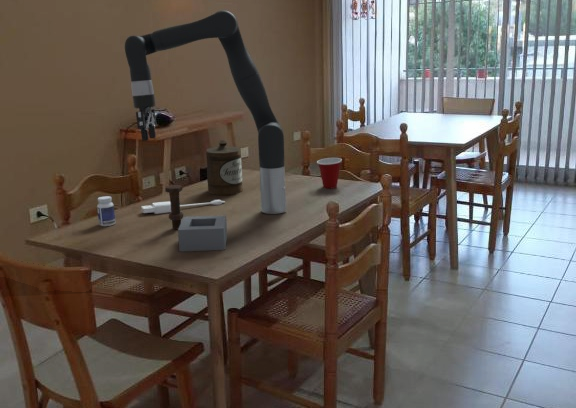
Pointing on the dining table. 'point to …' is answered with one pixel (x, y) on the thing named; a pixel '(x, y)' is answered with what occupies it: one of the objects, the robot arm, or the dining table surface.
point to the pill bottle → (106, 211)
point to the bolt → (175, 205)
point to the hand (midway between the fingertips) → (149, 139)
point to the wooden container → (224, 169)
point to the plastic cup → (329, 171)
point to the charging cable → (166, 207)
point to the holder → (202, 233)
